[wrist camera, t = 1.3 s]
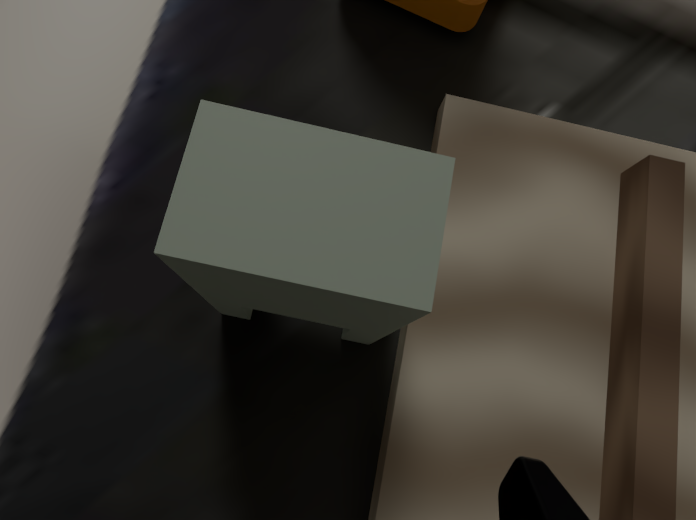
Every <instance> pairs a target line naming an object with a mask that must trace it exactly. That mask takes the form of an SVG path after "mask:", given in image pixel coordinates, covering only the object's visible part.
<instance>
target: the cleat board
mask: <svg viewBox="0 0 696 520" xmlns="http://www.w3.org/2000/svg"><path fill="white" fill-rule="evenodd" d="M431 152H432V153H436V154H440V155H445V156H449V157H453V158H455V164H454V171H453V177H452V184H451V190H450V196H449V203H448V209H447V216H446V222H445V228H444V235H443V241H442V248H441V254H440V261H439V267H438V273H437V280H436V286H435V293H434V299H433V306H432V312H431V313H429V314H427V315H425V316H423V317H421V318H419V319H417V320H415V321H414V322H412V323H410V324H408V325H406V326H404V327H402V328H401V329H400V335H399V341H398V347H397V353H396V359H395V364H394V370H393V376H392V382H391V388H390V394H389V400H388V406H387V411H386V417H385V423H384V429H383V435H382V441H381V447H380V453H379V458H378V464H377V470H376V476H375V482H374V488H373V494H372V500H371V505H370V511H369V517H368V520H499V507H498V491H499V487H500V484H501V482H502V480H503V478H504V477H505V475H506V473H507V472H508V470H509V468H510V467H511V465H512V463H513V462H514V460H515V459H516V458H517V457H519V456H525V457H530V458H535V459H539V460H541V461H543V462H544V463H545V464H546V465H547V466H548V467H549V468H550V470H551V471H552V472H553V474H554V475H555V476H556V477H557V479H558V480H559V481H560V482H561V484H562V485H563V486H564V487H565V489H566V490H567V491H568V492H569V494H570V495H571V496H572V497H573V499H574V500H575V501H576V503H577V504H578V505H579V506H580V508H581V509H582V510H583V511H584V513H585V514H586V515H587V516H588V518H589V519H590V520H696V153H695V152H691V151H687V150H683V149H678V148H674V147H670V146H666V145H662V144H657V143H653V142H649V141H645V140H640V139H636V138H632V137H628V136H623V135H619V134H615V133H611V132H606V131H602V130H598V129H594V128H589V127H585V126H581V125H577V124H572V123H568V122H564V121H560V120H555V119H551V118H547V117H543V116H538V115H534V114H530V113H526V112H521V111H517V110H513V109H509V108H504V107H500V106H496V105H492V104H487V103H483V102H479V101H475V100H470V99H466V98H462V97H458V96H453V95H449V94H446V96H445V98H444V99H443V101H442V103H441V105H440V107H439V109H438V112H437V118H436V124H435V129H434V135H433V141H432V147H431Z"/></svg>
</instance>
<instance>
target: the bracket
mask: <svg viewBox="0 0 696 520" xmlns="http://www.w3.org/2000/svg"><path fill="white" fill-rule="evenodd" d="M385 1H388V2H390V3H392V4H394V5H396V6H399V7H401V8H403V9H405V10H408V11H410V12H412V13H414V14H416V15H419V16H421V17H423V18H425V19H428V20H430V21H432V22H434V23H436V24H439V25H441V26H443V27H445V28H447V29H450V30H452V31H455V32H466V31H469V30H470V29H472V28H473V27H474V26H475V25H476V23H477V21H478V19H479V17H480V15H481V13H482V11H483V9H484V7H485V5H486V3H487V1H488V0H385Z"/></svg>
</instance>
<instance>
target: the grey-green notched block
mask: <svg viewBox="0 0 696 520" xmlns="http://www.w3.org/2000/svg"><path fill="white" fill-rule="evenodd" d="M454 164H455V158H453V157H449V156H445V155H440V154H436V153H432V152H427V151H423V150H418V149H414V148H410V147H405V146H401V145H397V144H392V143H388V142H384V141H379V140H375V139H371V138H366V137H362V136H357V135H353V134H349V133H344V132H340V131H336V130H331V129H327V128H323V127H318V126H314V125H310V124H305V123H301V122H296V121H292V120H288V119H283V118H279V117H275V116H270V115H266V114H262V113H257V112H253V111H249V110H244V109H240V108H235V107H231V106H227V105H222V104H218V103H214V102H209V101H205V100H201V101H200V104H199V108H198V111H197V114H196V117H195V121H194V124H193V127H192V130H191V134H190V137H189V140H188V143H187V147H186V150H185V153H184V156H183V160H182V163H181V166H180V169H179V172H178V176H177V179H176V182H175V185H174V189H173V192H172V195H171V198H170V202H169V205H168V208H167V211H166V215H165V218H164V221H163V224H162V228H161V231H160V234H159V237H158V241H157V244H156V247H155V250H154V253H155V254H156V255H157V256H158V257H159V258H160V259H161V260H162V261H163V262H165V263H166V264H167V265H168V266H169V267H170V268H171V269H172V270H173V271H175V272H176V273H177V274H178V275H179V276H180V277H181V278H182V279H183V280H185V281H186V282H187V283H188V284H189V285H190V286H191V287H192V288H193V289H194V290H196V291H197V292H198V293H199V294H200V295H201V296H202V297H203V298H204V299H206V300H207V301H208V302H209V303H210V304H211V305H212V306H213V307H214V308H216V309H217V310H218V311H219V312H220V313H221V314H224V315H229V316H234V317H239V318H244V319H248V320H250V319H251V315H252V311H253V309H255V310H260V311H265V312H269V313H274V314H279V315H284V316H288V317H293V318H298V319H303V320H307V321H312V322H317V323H322V324H326V325H331V326H336V327H341V328H343V331H342V336H341V339H344V340H349V341H353V342H358V343H363V344H368V345H369V344H371V343H373V342H375V341H377V340H379V339H381V338H383V337H385V336H387V335H389V334H391V333H392V332H394V331H396V330H398V329H400V328H402V327H404V326H406V325H408V324H410V323H412V322H414V321H415V320H417V319H419V318H421V317H423V316H425V315H427V314H429V313H431V312H432V306H433V299H434V293H435V286H436V280H437V273H438V267H439V261H440V254H441V248H442V241H443V235H444V228H445V222H446V216H447V209H448V203H449V196H450V190H451V184H452V177H453V171H454Z"/></svg>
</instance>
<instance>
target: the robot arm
mask: <svg viewBox="0 0 696 520" xmlns="http://www.w3.org/2000/svg"><path fill="white" fill-rule="evenodd" d="M498 507H499V520H590V519H589V518H588V516H587V515H586V514H585V513H584V511H583V510H582V509H581V508H580V506H579V505H578V504H577V503H576V501H575V500H574V499H573V497H572V496H571V495H570V494H569V492H568V491H567V490H566V489H565V487H564V486H563V485H562V484H561V482H560V481H559V480H558V479H557V477H556V476H555V475H554V474H553V472H552V471H551V470H550V468H549V467H548V466H547V465H546V464H545V463H544V462H543V461H541V460H539V459H535V458H530V457H525V456H519V457H517V458H516V459H515V460H514V462H513V463H512V465H511V467H510V468H509V470H508V472H507V473H506V475H505V477H504V478H503V480H502V482H501V484H500V487H499V491H498Z"/></svg>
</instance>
